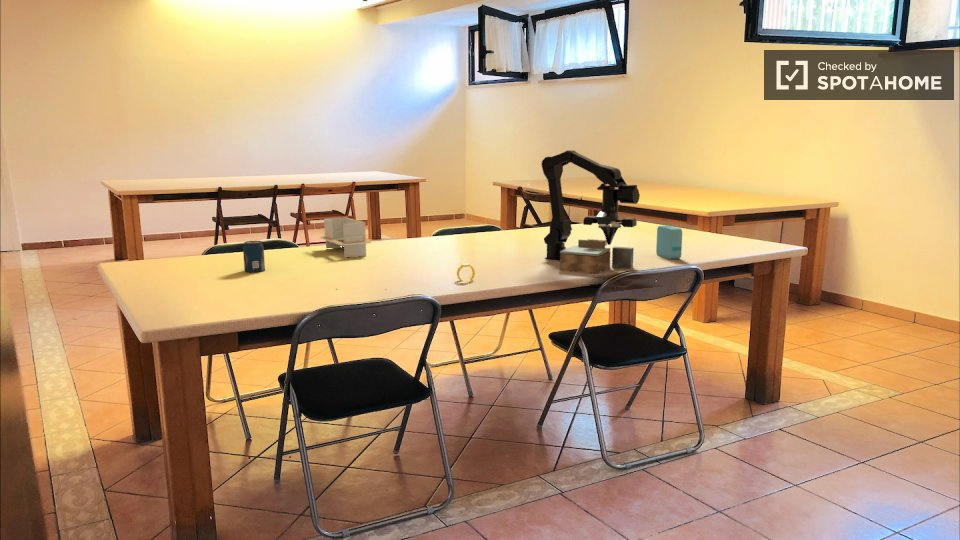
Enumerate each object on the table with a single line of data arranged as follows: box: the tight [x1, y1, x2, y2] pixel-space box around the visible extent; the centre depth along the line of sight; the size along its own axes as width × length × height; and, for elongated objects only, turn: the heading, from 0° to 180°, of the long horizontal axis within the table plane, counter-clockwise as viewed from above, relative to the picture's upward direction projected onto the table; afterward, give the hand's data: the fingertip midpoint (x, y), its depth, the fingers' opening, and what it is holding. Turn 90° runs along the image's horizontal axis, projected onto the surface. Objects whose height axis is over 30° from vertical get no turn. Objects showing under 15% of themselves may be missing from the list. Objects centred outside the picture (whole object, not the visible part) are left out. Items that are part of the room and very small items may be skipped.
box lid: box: [560, 239, 611, 256], centre depth 263 cm, size 14×14×3 cm
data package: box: [655, 225, 683, 260], centre depth 287 cm, size 12×4×12 cm, turn 15°
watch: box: [456, 262, 476, 282], centre depth 243 cm, size 6×3×6 cm, turn 113°
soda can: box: [242, 240, 266, 274], centre depth 255 cm, size 7×7×12 cm
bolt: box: [586, 238, 608, 247], centre depth 271 cm, size 7×2×2 cm, turn 62°
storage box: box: [559, 250, 611, 275], centre depth 264 cm, size 14×14×6 cm
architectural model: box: [319, 216, 372, 258], centre depth 294 cm, size 26×13×15 cm, turn 30°
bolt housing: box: [611, 246, 635, 269], centre depth 267 cm, size 7×3×7 cm, turn 62°
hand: (609, 244), depth 269 cm, fingers closed
